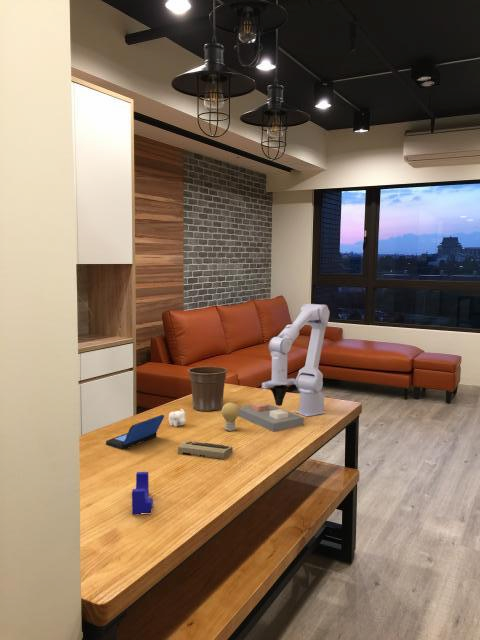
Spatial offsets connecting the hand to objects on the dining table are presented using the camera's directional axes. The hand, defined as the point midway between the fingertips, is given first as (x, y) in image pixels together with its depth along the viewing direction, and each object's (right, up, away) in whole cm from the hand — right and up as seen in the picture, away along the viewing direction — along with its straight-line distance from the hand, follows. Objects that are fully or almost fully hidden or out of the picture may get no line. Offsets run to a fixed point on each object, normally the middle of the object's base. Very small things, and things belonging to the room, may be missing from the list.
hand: (278, 405), depth 199 cm
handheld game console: (-50, -10, -19) cm, 54 cm away
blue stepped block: (-39, -15, -65) cm, 77 cm away
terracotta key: (-7, -4, +11) cm, 13 cm away
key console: (-3, -7, +6) cm, 9 cm away
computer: (-25, -11, -29) cm, 40 cm away
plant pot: (-28, -5, +23) cm, 37 cm away
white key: (0, -6, +1) cm, 5 cm away
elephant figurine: (-38, -8, -2) cm, 39 cm away
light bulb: (-18, -8, -6) cm, 21 cm away
